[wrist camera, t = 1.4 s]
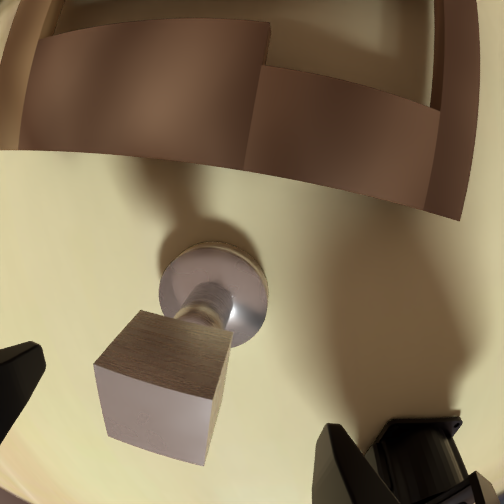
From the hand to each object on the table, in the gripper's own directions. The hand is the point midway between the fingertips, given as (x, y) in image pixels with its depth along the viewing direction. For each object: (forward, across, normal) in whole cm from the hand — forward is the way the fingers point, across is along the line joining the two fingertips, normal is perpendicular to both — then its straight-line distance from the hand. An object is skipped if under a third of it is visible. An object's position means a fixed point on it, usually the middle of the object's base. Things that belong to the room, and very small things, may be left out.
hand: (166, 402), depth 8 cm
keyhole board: (+8, +2, -13) cm, 15 cm away
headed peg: (+8, 0, 0) cm, 8 cm away
